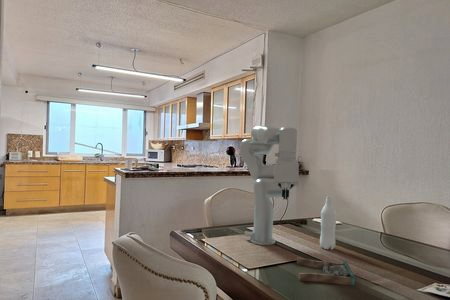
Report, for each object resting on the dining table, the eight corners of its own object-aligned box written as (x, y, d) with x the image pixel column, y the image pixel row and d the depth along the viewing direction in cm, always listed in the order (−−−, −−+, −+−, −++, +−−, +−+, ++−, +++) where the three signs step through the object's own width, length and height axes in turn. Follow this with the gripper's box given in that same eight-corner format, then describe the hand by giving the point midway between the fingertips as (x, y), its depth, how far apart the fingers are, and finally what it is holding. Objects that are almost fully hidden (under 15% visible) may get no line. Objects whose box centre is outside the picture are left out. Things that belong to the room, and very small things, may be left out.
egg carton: (321, 270, 118) (322, 260, 118) (342, 272, 117) (342, 261, 117) (327, 282, 107) (328, 270, 107) (349, 284, 106) (350, 272, 106)
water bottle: (336, 251, 141) (338, 197, 141) (320, 249, 143) (322, 196, 143) (333, 246, 148) (336, 195, 148) (318, 245, 150) (320, 194, 150)
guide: (298, 280, 107) (299, 270, 107) (296, 263, 124) (297, 254, 124) (355, 287, 103) (355, 277, 103) (345, 268, 120) (345, 259, 120)
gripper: (269, 155, 128) (267, 199, 128) (305, 157, 125) (303, 201, 125) (270, 155, 135) (268, 196, 135) (304, 157, 132) (302, 199, 132)
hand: (285, 198), depth 130 cm, fingers closed
